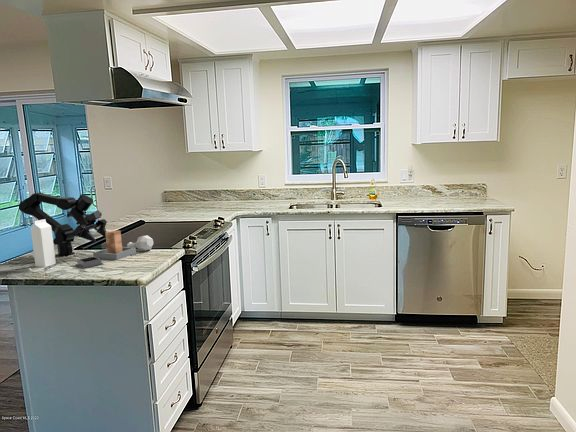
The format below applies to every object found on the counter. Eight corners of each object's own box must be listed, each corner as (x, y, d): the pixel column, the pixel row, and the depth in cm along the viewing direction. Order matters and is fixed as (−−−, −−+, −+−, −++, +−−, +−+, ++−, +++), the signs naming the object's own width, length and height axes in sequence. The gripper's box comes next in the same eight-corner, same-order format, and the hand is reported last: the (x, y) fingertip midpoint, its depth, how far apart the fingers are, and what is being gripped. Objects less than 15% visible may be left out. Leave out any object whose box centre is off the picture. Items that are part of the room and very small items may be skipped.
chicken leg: (137, 247, 238) (129, 235, 235) (159, 244, 229) (151, 231, 226) (127, 256, 232) (118, 244, 229) (149, 253, 223) (140, 240, 219)
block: (107, 256, 213) (105, 232, 211) (114, 253, 218) (111, 230, 216) (116, 256, 212) (114, 232, 210) (122, 254, 217) (120, 230, 215)
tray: (93, 259, 211) (93, 252, 210) (113, 252, 224) (113, 246, 223) (117, 261, 206) (116, 254, 206) (136, 254, 219) (135, 247, 219)
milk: (35, 268, 199) (29, 221, 196) (46, 264, 205) (40, 218, 202) (45, 268, 198) (39, 221, 194) (56, 265, 203) (50, 219, 200)
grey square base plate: (74, 266, 199) (73, 259, 199) (96, 262, 206) (95, 255, 206) (82, 270, 192) (81, 263, 192) (104, 265, 199) (104, 259, 198)
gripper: (75, 209, 205) (97, 232, 204) (102, 203, 223) (122, 225, 222) (63, 224, 209) (85, 248, 207) (90, 218, 226) (110, 239, 225)
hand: (101, 239), depth 215 cm, fingers open, 9 cm apart
